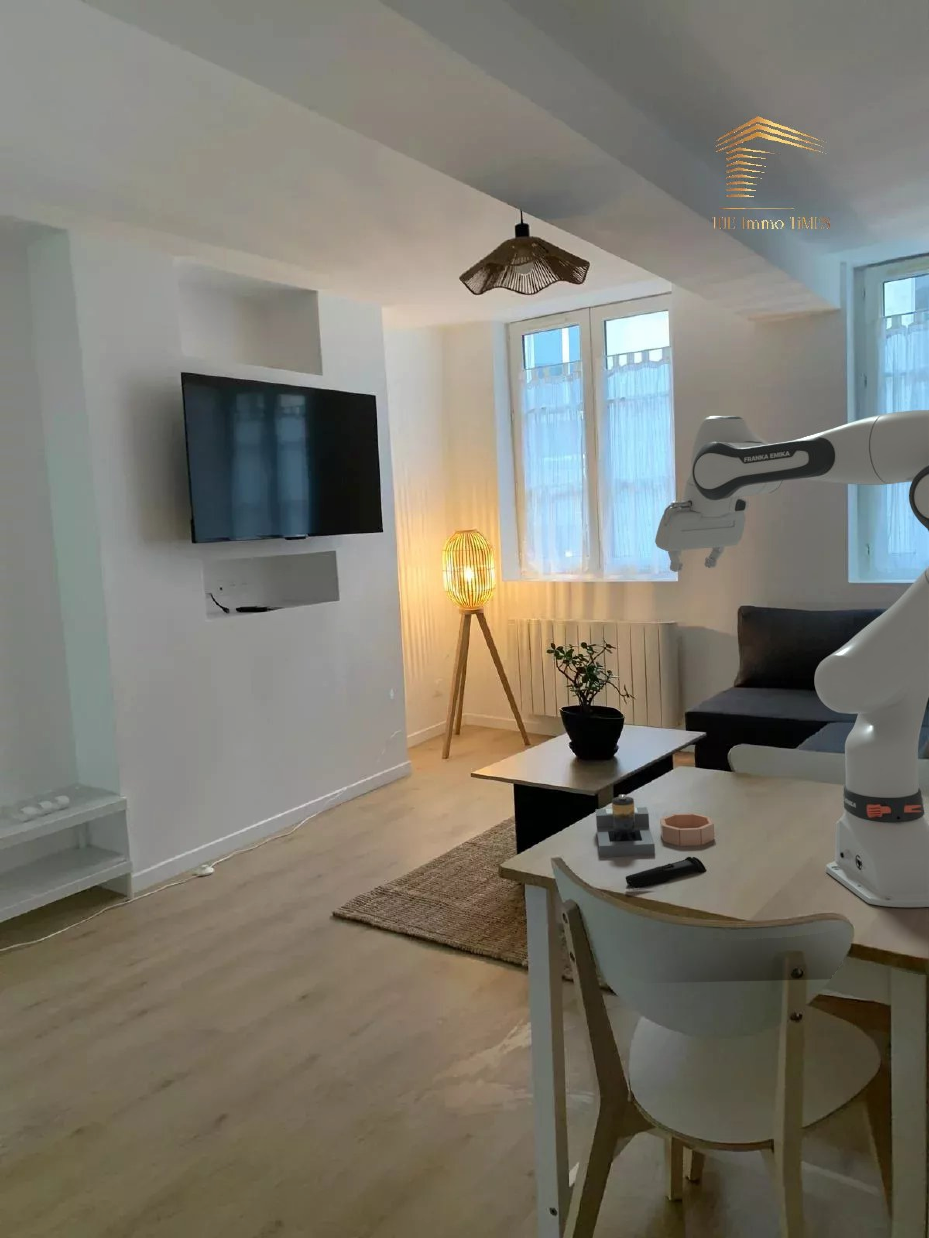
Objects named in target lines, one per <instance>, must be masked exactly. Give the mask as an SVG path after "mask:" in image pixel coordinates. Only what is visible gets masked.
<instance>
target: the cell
mask: <svg viewBox="0 0 929 1238" xmlns="http://www.w3.org/2000/svg"><path fill="white" fill-rule="evenodd" d="M634 800H635V799H634V798H633V797H631V796H627V794H618V796H617V797H613V798H612V800H611V806H612V807H611V809H612V812H613V824H614V841H615V842H620V841H636V833H635V811H634V808H635V801H634Z"/></svg>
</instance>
